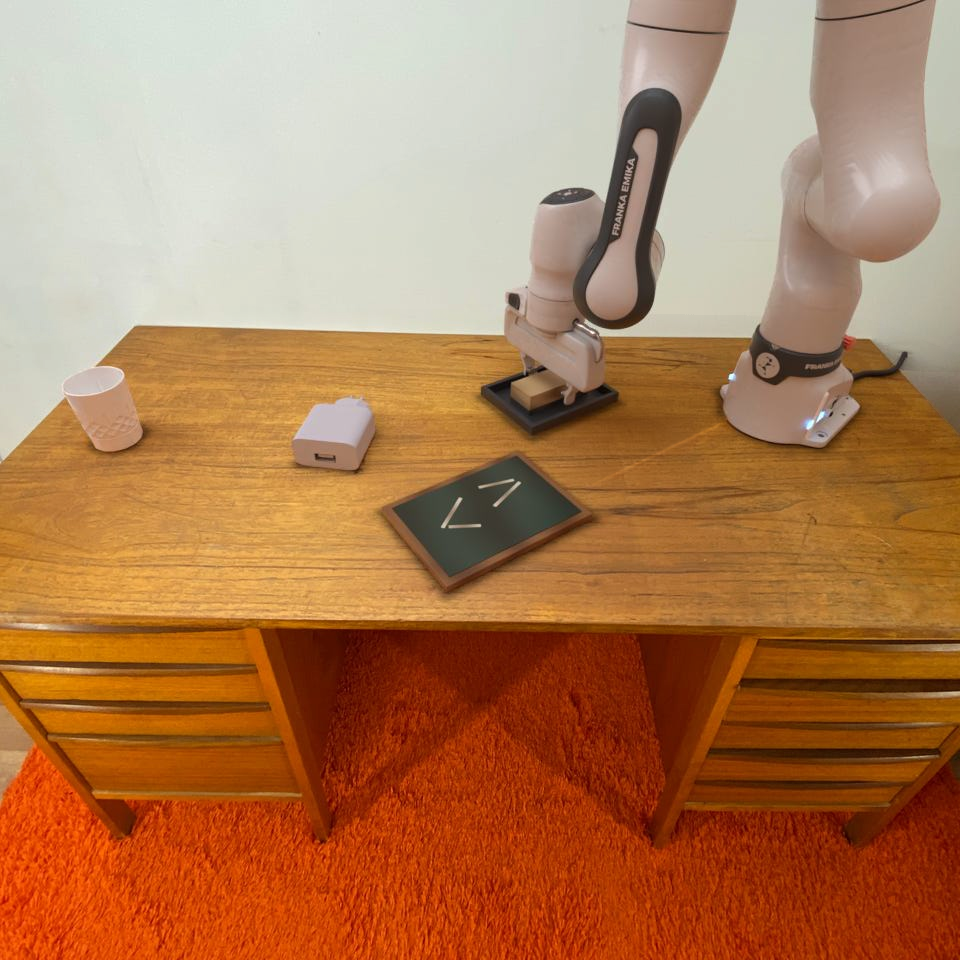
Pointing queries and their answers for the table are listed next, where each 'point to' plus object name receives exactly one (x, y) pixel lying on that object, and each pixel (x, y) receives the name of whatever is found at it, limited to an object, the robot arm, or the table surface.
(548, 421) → the tray
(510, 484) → the board
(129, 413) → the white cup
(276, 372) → the table surface
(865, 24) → the robot arm
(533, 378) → the eraser
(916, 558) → the table surface
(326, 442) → the charger
